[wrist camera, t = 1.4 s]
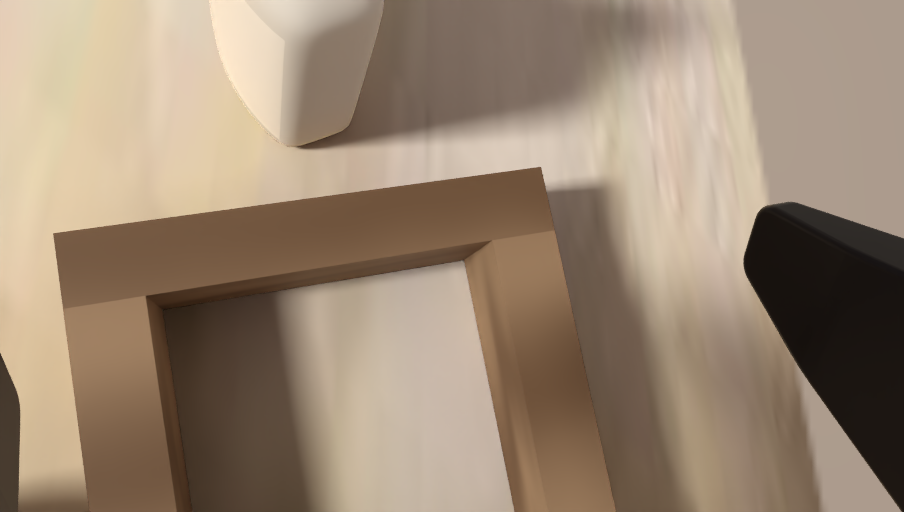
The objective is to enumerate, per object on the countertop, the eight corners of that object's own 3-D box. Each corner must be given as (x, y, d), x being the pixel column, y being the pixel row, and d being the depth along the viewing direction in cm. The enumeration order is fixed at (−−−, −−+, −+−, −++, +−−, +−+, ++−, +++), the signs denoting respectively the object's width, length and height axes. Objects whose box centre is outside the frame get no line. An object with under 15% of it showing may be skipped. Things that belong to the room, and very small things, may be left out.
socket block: (593, 601, 22) (642, 631, 19) (148, 733, 19) (126, 793, 16) (507, 194, 24) (540, 167, 21) (83, 256, 20) (53, 233, 18)
